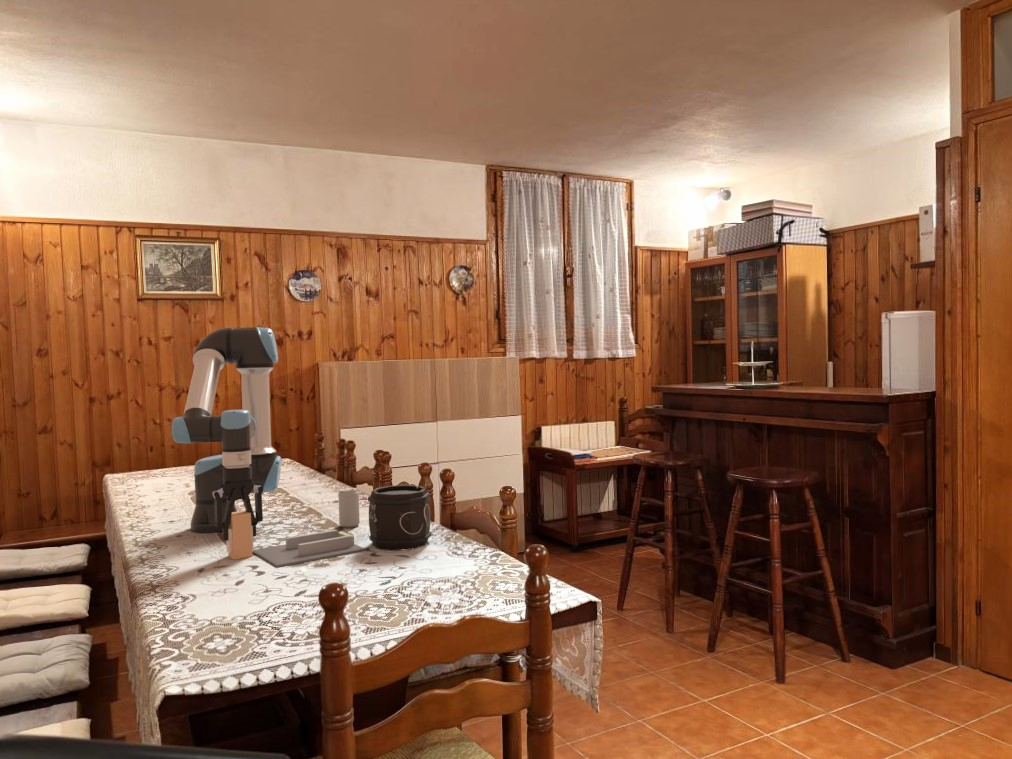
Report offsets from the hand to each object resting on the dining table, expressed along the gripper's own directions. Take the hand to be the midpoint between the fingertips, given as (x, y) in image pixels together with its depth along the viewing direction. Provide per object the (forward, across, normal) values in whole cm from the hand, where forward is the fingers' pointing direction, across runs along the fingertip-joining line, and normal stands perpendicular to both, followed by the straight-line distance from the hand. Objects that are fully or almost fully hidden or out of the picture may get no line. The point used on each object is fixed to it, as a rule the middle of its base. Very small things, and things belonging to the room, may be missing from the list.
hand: (240, 549), depth 209 cm
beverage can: (+2, +39, +14) cm, 41 cm away
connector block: (+2, 0, 0) cm, 2 cm away
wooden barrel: (+2, +41, -17) cm, 44 cm away
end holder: (+2, +17, -8) cm, 18 cm away
